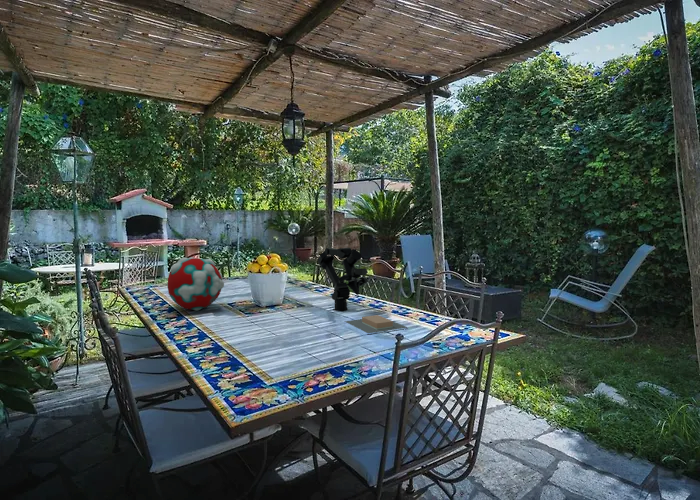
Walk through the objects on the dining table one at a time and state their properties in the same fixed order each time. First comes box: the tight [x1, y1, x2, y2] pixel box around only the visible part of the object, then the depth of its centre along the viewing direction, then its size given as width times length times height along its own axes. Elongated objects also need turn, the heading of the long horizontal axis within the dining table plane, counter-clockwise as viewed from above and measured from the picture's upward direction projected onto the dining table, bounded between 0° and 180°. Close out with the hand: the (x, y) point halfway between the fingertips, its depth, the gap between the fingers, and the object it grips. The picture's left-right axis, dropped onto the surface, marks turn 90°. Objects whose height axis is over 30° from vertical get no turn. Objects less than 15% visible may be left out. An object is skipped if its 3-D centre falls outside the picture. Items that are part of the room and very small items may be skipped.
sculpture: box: [166, 257, 225, 311], centre depth 237 cm, size 32×30×30 cm
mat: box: [344, 318, 409, 336], centre depth 203 cm, size 24×22×1 cm
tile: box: [361, 314, 393, 330], centre depth 201 cm, size 3×9×14 cm
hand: (358, 294), depth 220 cm, fingers closed
